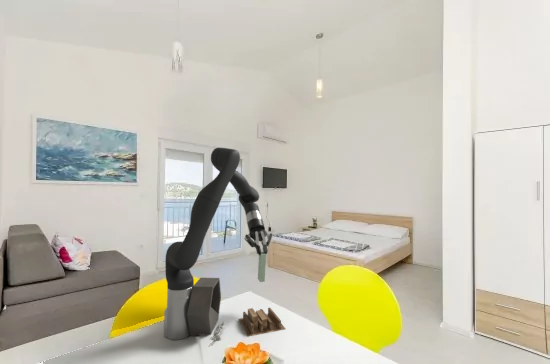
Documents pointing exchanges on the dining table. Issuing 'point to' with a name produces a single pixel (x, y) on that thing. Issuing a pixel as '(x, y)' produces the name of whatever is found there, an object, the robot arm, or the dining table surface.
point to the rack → (261, 324)
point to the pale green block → (261, 267)
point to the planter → (204, 306)
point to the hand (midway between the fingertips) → (263, 253)
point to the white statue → (217, 334)
